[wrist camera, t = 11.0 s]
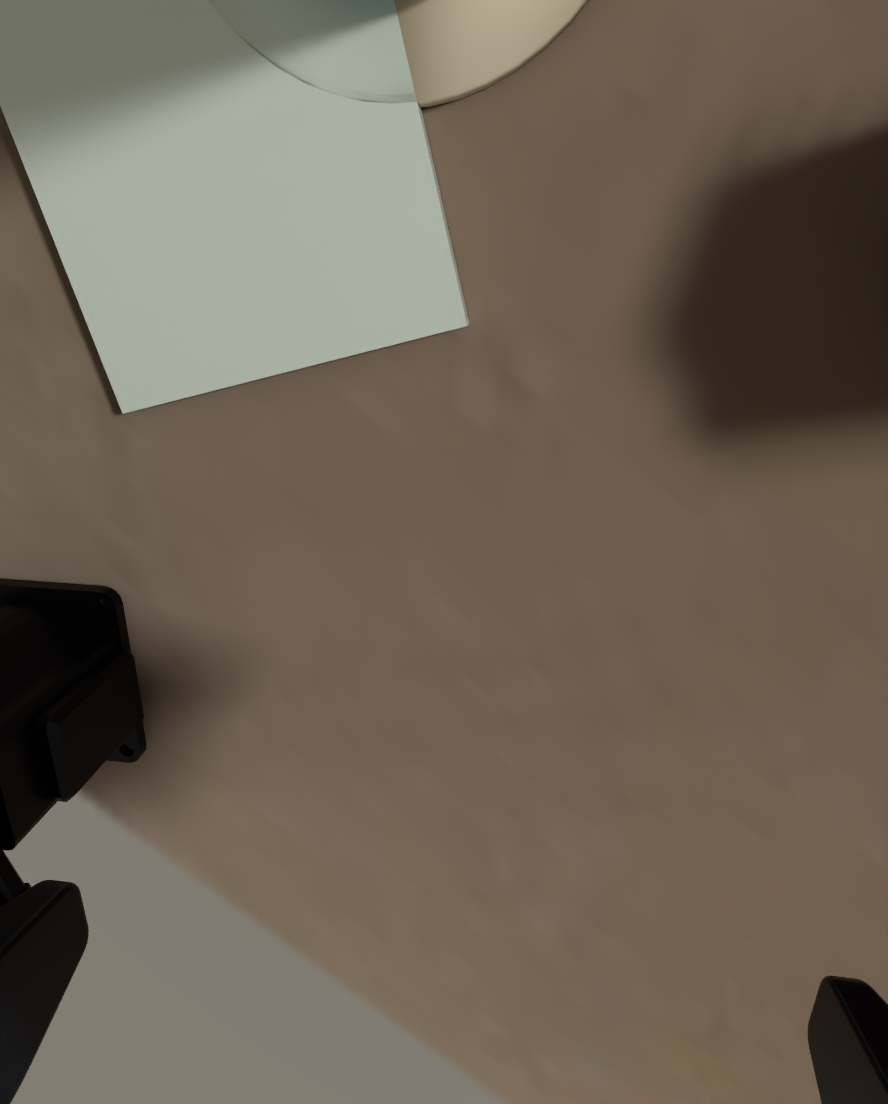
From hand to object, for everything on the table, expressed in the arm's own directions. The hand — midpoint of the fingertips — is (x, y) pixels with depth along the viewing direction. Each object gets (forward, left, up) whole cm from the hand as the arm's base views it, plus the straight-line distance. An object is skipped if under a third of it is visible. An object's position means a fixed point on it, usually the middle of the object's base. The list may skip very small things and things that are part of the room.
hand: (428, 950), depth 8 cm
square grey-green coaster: (-7, +10, -13) cm, 18 cm away
